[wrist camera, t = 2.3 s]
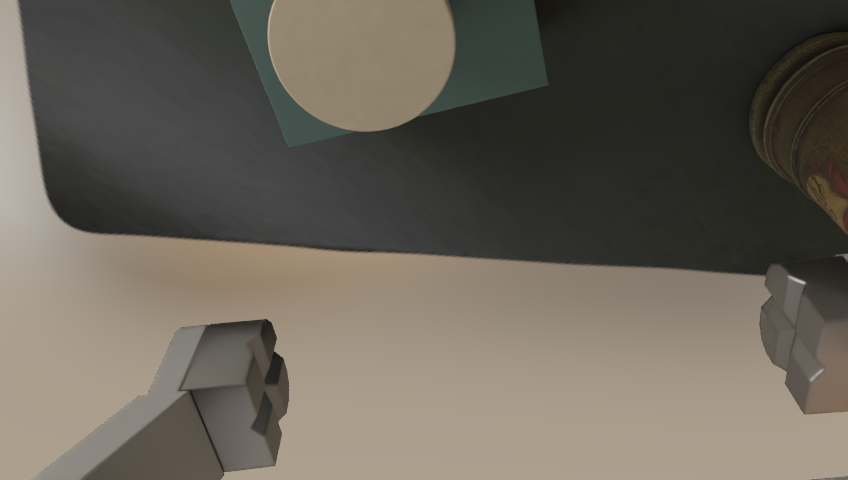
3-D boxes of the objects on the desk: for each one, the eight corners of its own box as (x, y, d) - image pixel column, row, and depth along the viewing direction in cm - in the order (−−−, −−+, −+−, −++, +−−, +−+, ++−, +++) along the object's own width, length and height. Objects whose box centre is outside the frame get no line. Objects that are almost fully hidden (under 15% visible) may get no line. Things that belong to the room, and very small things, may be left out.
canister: (428, -115, 31) (429, -79, 23) (463, 34, 34) (474, 109, 26) (282, -73, 31) (237, -25, 24) (330, 68, 35) (304, 150, 27)
